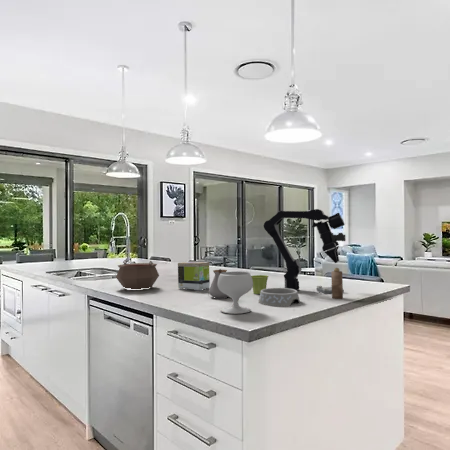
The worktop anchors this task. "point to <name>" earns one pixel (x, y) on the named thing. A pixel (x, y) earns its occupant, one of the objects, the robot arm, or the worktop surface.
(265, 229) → the robot arm
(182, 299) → the worktop surface
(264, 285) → the plant pot
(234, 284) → the chalice
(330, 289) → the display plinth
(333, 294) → the pepper mill
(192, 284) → the tea box
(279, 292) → the dog bowl
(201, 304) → the worktop surface
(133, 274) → the brown faceted rounded vessel
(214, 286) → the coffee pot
